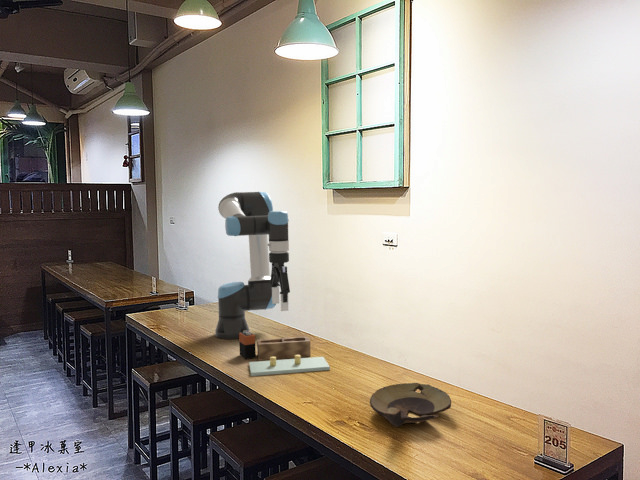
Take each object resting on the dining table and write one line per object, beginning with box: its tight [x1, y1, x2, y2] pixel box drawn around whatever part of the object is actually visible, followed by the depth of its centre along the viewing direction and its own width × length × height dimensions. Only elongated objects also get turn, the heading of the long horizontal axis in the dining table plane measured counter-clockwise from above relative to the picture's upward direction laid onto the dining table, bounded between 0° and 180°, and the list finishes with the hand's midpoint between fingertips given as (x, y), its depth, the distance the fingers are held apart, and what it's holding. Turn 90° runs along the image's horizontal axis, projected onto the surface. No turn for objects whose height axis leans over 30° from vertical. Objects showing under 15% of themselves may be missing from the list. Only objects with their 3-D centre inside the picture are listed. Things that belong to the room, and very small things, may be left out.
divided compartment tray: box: [256, 336, 312, 361], centre depth 208 cm, size 20×7×6 cm, turn 101°
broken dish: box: [369, 382, 452, 428], centre depth 150 cm, size 22×30×8 cm
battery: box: [238, 330, 257, 360], centre depth 208 cm, size 4×7×10 cm, turn 29°
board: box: [248, 355, 331, 377], centre depth 194 cm, size 28×12×4 cm, turn 101°
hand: (280, 307), depth 204 cm, fingers open, 13 cm apart
